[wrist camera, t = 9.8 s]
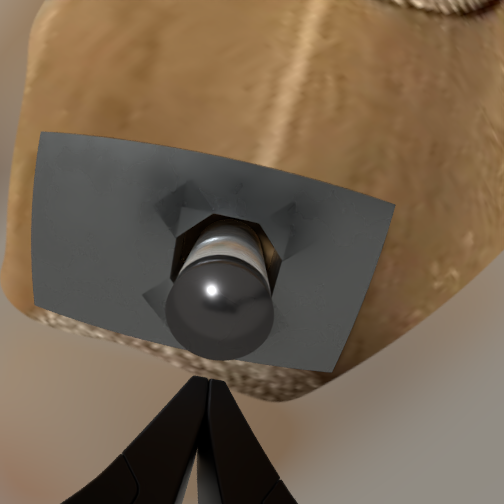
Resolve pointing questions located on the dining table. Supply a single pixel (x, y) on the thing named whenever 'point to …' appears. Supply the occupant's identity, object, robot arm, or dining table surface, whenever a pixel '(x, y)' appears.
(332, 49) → the dining table surface
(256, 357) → the jig
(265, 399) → the dining table surface
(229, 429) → the robot arm
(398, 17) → the dining table surface
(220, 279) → the metal cylinder peg
